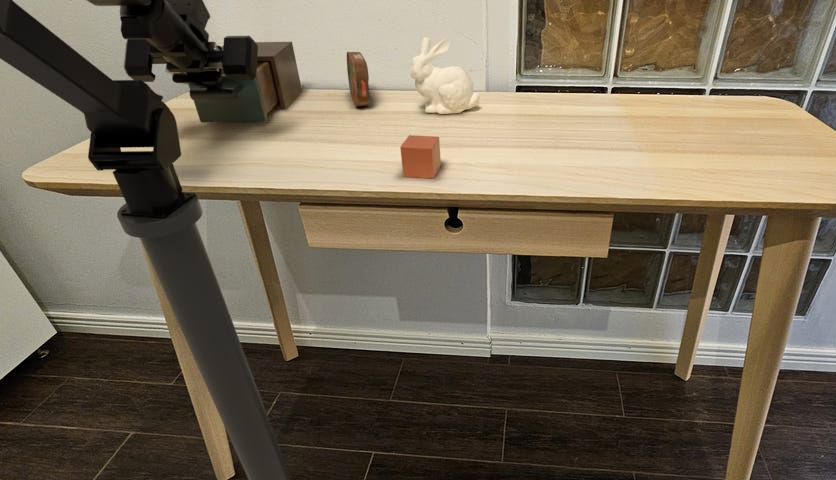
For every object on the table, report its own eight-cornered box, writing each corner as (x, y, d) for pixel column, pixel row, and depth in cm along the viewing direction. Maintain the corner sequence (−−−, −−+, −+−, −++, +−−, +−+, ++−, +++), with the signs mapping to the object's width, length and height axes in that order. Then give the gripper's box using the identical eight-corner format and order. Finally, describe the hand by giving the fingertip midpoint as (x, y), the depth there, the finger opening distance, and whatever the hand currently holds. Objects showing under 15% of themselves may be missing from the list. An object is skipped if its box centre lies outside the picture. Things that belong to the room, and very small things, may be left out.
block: (433, 178, 75) (431, 148, 73) (403, 176, 76) (400, 146, 74) (441, 165, 79) (439, 136, 76) (411, 163, 80) (409, 134, 77)
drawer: (256, 131, 89) (244, 83, 85) (188, 132, 89) (172, 84, 85) (283, 102, 101) (273, 59, 97) (223, 103, 101) (211, 60, 97)
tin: (348, 90, 110) (342, 46, 106) (364, 88, 111) (358, 45, 106) (357, 113, 99) (350, 65, 94) (374, 111, 99) (368, 64, 95)
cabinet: (285, 109, 101) (273, 56, 95) (219, 110, 101) (203, 57, 95) (302, 91, 110) (292, 41, 105) (241, 91, 110) (228, 42, 105)
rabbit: (411, 115, 97) (405, 45, 90) (421, 99, 105) (416, 33, 98) (477, 116, 96) (476, 46, 89) (482, 100, 104) (482, 34, 97)
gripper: (235, -26, 74) (278, 41, 89) (101, -24, 74) (167, 42, 89) (230, 48, 72) (275, 103, 88) (93, 50, 72) (161, 105, 88)
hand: (219, 86), depth 88 cm, fingers closed
